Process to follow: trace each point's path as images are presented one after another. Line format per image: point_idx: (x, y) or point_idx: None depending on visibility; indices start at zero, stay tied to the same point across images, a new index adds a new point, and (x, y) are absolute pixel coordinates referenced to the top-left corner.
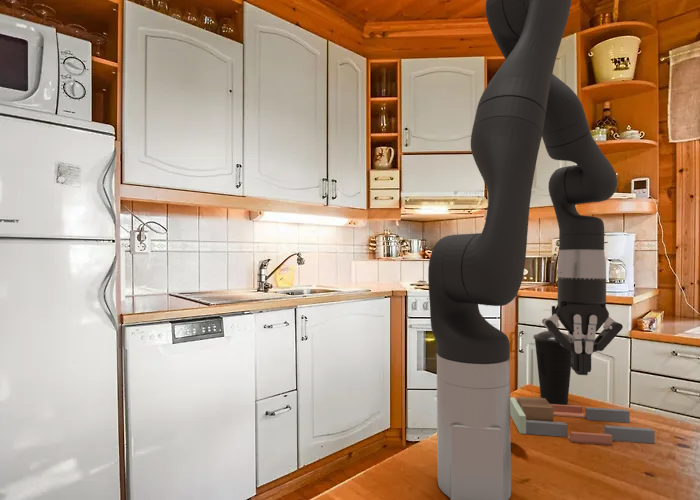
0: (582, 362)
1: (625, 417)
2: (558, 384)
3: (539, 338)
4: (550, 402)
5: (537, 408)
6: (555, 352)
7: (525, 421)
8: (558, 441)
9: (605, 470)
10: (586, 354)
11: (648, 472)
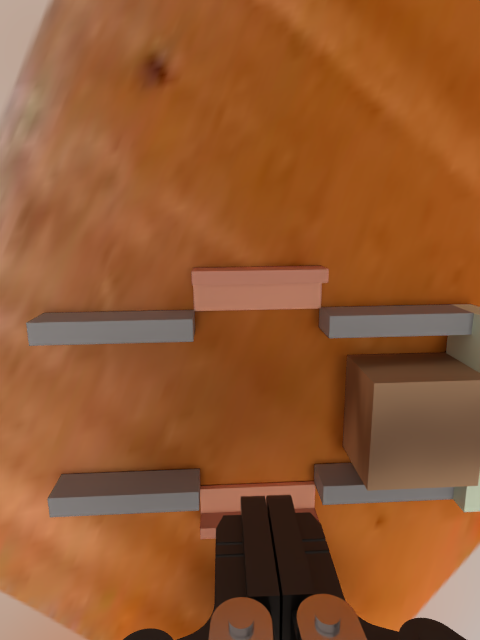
0: (279, 544)
1: (69, 484)
2: None
3: None
4: None
5: (432, 378)
6: None
7: (476, 313)
8: (360, 266)
9: (285, 68)
10: (256, 598)
11: (152, 80)
